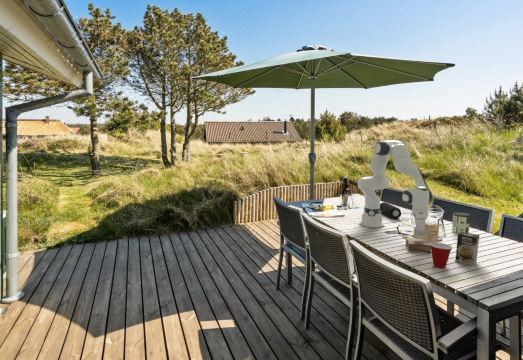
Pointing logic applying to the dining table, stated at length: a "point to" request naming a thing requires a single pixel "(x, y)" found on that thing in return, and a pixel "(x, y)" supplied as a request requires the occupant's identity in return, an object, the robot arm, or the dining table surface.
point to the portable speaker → (390, 210)
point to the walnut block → (418, 245)
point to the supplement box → (431, 232)
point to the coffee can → (460, 222)
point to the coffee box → (467, 248)
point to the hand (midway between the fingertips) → (418, 234)
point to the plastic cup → (440, 254)
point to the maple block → (416, 234)
